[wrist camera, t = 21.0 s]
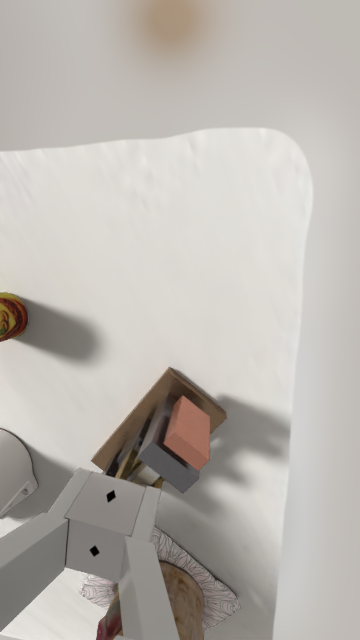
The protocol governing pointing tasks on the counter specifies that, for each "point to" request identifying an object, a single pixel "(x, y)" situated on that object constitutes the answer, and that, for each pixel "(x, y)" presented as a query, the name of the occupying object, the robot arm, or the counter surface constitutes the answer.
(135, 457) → the frame
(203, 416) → the shaft
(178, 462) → the shaft rig
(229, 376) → the counter surface
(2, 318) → the canned food
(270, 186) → the counter surface
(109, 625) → the cookie jar
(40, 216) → the counter surface
